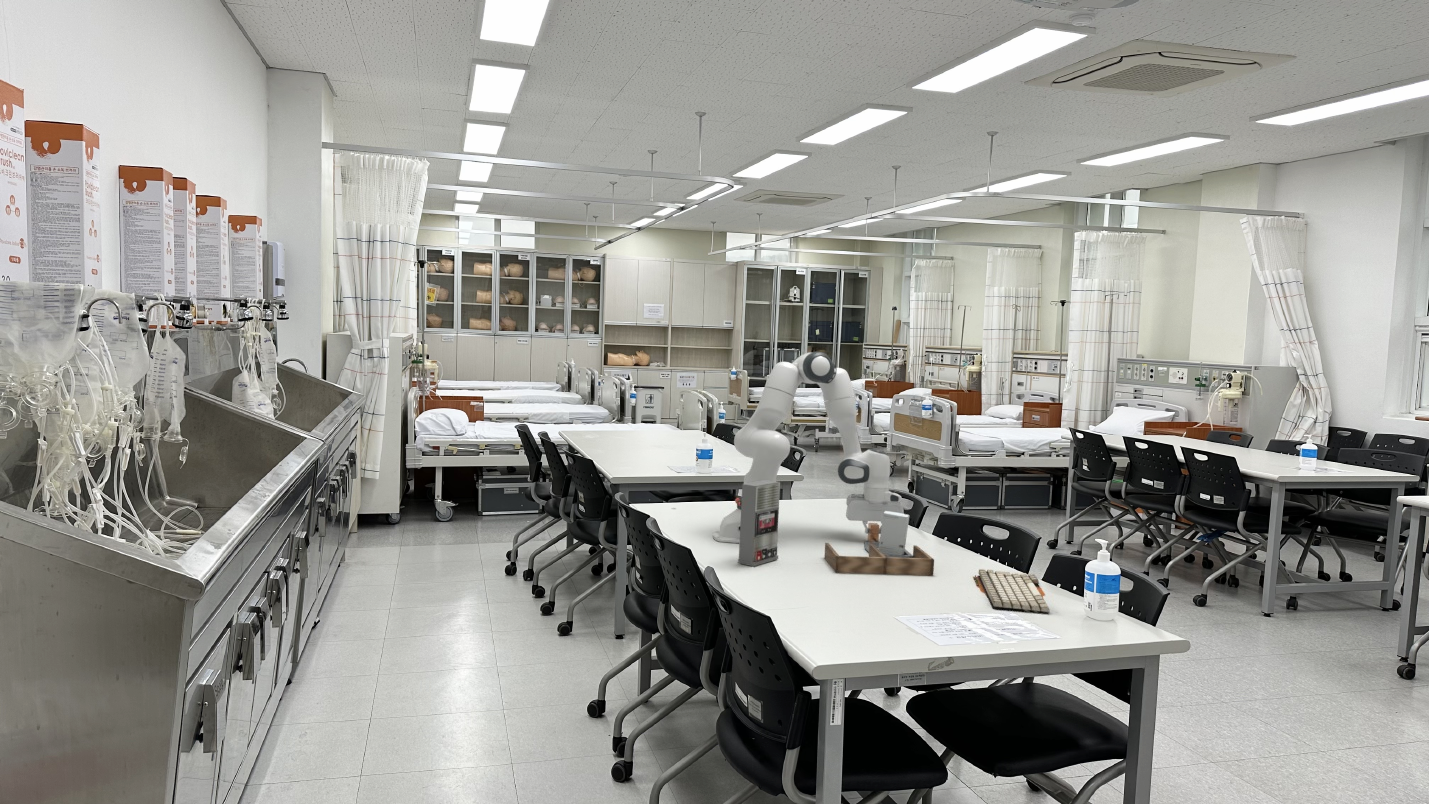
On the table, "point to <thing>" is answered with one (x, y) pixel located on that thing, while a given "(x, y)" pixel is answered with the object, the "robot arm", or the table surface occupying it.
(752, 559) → the cassette tape recorder
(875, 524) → the pull frame
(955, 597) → the table surface
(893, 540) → the skincare box
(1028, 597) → the mechanical keyboard
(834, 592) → the table surface
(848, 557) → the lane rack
